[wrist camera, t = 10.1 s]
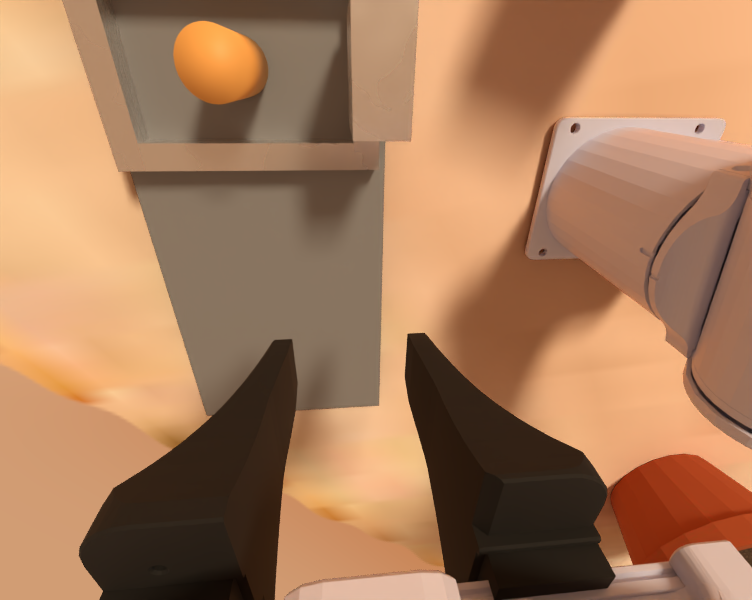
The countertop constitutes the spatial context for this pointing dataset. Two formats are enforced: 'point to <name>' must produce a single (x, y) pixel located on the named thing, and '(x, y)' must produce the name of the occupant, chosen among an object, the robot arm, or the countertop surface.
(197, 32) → the post
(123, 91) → the beige open rectangular frame
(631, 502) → the potted plant
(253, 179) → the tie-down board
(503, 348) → the countertop surface
